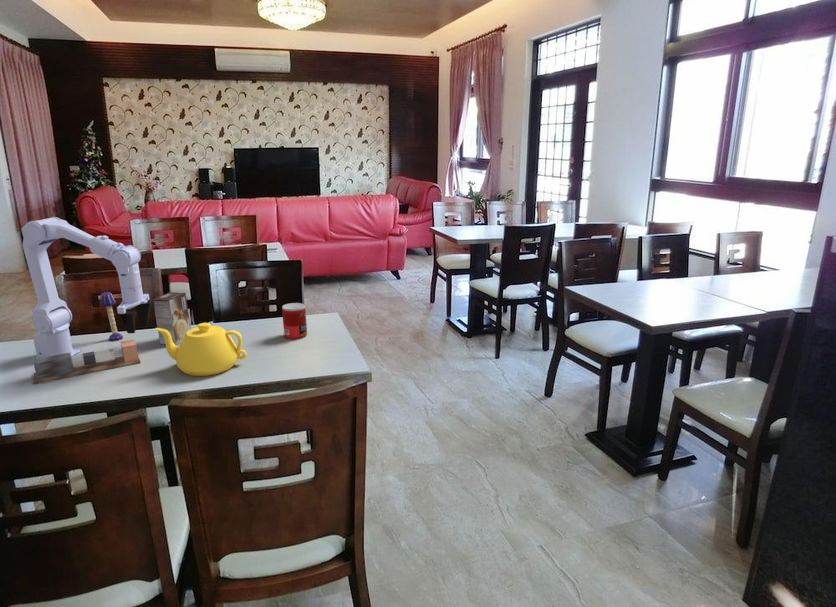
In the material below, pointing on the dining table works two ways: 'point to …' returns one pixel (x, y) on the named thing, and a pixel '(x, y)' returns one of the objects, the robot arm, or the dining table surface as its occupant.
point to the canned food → (294, 320)
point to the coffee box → (172, 315)
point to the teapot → (205, 350)
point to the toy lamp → (110, 314)
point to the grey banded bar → (92, 357)
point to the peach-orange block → (129, 351)
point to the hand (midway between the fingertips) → (137, 328)
